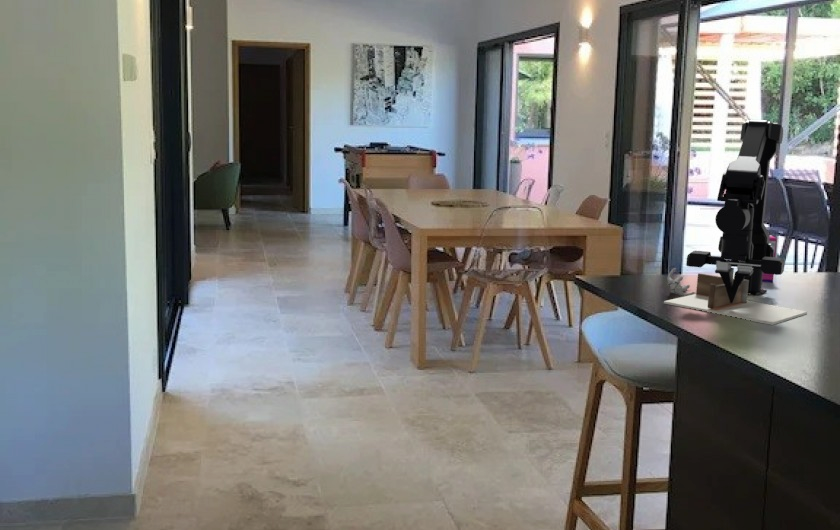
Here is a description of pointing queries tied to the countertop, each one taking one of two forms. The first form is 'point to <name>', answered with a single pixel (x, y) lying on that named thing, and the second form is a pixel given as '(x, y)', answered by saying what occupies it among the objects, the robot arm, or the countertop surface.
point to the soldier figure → (677, 285)
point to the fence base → (706, 280)
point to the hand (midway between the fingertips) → (731, 302)
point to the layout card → (739, 309)
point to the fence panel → (721, 296)
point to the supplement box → (773, 242)
